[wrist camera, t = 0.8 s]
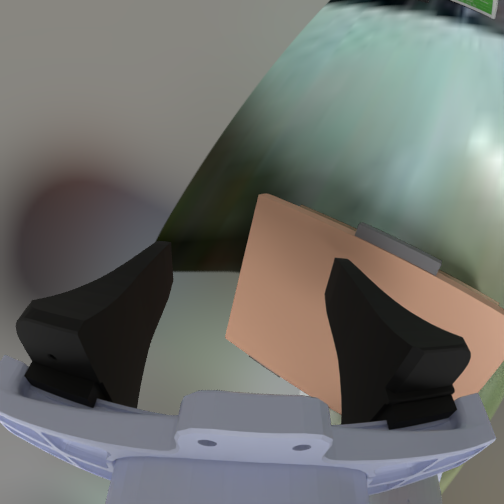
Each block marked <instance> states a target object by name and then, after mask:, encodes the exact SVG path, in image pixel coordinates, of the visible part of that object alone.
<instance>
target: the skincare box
mask: <svg viewBox="0 0 504 504" xmlns="http://www.w3.org/2000/svg"><path fill="white" fill-rule="evenodd" d="M451 1H453V2H456V3H459V4H461V5H463V6H466V7H468V8H471V9H473V10H475V11H478V12H480V13H482V14H484V15H486V16H488V17H490V18H492V19H495V16H496V11H497V6H498V0H451Z"/></svg>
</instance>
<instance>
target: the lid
mask: <svg viewBox="0 0 504 504" xmlns="http://www.w3.org/2000/svg"><path fill="white" fill-rule="evenodd" d="M335 258H345V259H349V260H350V261H351V262H352V263H353V264H354V265H356V266H357V267H358V268H359V269H360V270H361V271H362V272H363V273H364V274H365V275H366V276H367V277H368V278H369V279H370V280H371V281H372V282H374V283H375V284H376V285H377V286H378V287H379V288H380V289H381V290H382V291H384V292H385V293H386V294H387V295H388V296H390V297H391V298H392V299H393V300H395V301H396V302H397V303H399V304H400V305H401V306H403V307H404V308H406V309H407V310H409V311H410V312H412V313H413V314H415V315H417V316H418V317H420V318H422V319H423V320H425V321H427V322H429V323H431V324H433V325H435V326H437V327H439V328H441V329H443V330H445V331H448V332H450V333H453V334H456V335H458V336H461V337H463V339H464V340H465V342H466V344H467V346H468V348H469V350H470V352H471V358H470V361H469V364H468V365H467V367H466V368H465V370H464V371H463V372H462V374H461V375H460V376H459V377H458V378H457V380H456V381H455V382H454V383H453V387H454V389H455V392H454V393H453V394H451V395H452V397H453V400H456V399H457V398H459V397H462V396H466V395H470V394H474V393H478V392H479V391H480V390H481V388H482V387H483V386H484V385H485V384H486V382H487V381H488V380H489V379H490V377H491V376H492V375H493V374H494V372H495V371H496V370H497V368H498V367H499V366H500V365H501V363H502V362H503V360H504V309H503V308H501V307H499V306H498V305H496V304H494V303H493V302H491V301H489V300H487V299H486V298H484V297H482V296H481V295H479V294H477V293H475V292H473V291H472V290H470V289H468V288H466V287H465V286H463V285H461V284H459V283H457V282H455V281H454V280H452V279H450V278H448V277H446V276H444V275H442V274H441V273H439V272H438V270H439V268H440V266H441V262H442V261H441V260H439V259H438V258H436V257H434V256H432V255H430V254H428V253H426V252H424V251H422V250H420V249H418V248H416V247H414V246H412V245H410V244H408V243H406V242H404V241H402V240H400V239H398V238H395V237H393V236H391V235H389V234H387V233H385V232H383V231H381V230H379V229H376V228H374V227H372V226H370V225H368V224H365V223H363V222H362V223H360V224H359V225H358V228H357V231H354V230H351V229H349V228H347V227H345V226H343V225H340V224H338V223H336V222H334V221H332V220H329V219H327V218H325V217H322V216H320V215H318V214H316V213H313V212H311V211H309V210H306V209H304V208H302V207H299V206H297V205H295V204H292V203H290V202H287V201H285V200H283V199H280V198H278V197H275V196H273V195H270V194H268V193H267V194H259V196H258V200H257V204H256V208H255V212H254V217H253V221H252V225H251V229H250V233H249V238H248V242H247V246H246V250H245V254H244V259H243V263H242V267H241V271H240V276H239V280H238V284H237V288H236V293H235V297H234V301H233V305H232V310H231V314H230V318H229V323H228V327H227V331H226V336H225V338H226V339H227V340H229V341H230V342H231V343H233V344H234V345H236V346H237V347H238V348H240V349H241V350H242V351H244V352H245V353H247V354H248V355H249V357H251V358H252V359H254V360H255V361H256V362H258V363H259V364H261V365H262V366H263V367H265V368H266V369H268V370H269V371H271V372H272V373H274V374H275V375H277V376H278V377H282V378H283V379H285V380H286V381H288V382H289V383H291V384H292V385H294V386H295V387H297V388H298V389H300V390H302V391H303V392H305V393H306V394H308V395H309V396H311V397H316V398H318V399H320V400H321V401H323V402H324V403H326V404H327V405H328V406H329V408H331V409H332V410H334V411H336V412H337V413H339V414H341V415H342V410H341V386H340V374H339V365H338V358H337V352H336V348H335V344H334V340H333V336H332V332H331V328H330V325H329V321H328V317H327V312H326V304H325V295H324V294H325V290H326V287H327V283H328V280H329V276H330V273H331V269H332V266H333V262H334V259H335Z"/></svg>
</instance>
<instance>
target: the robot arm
mask: <svg viewBox="0 0 504 504" xmlns="http://www.w3.org/2000/svg"><path fill="white" fill-rule="evenodd" d="M172 283H173V270H172V254H171V242H164V241H157V242H155V243H154V244H152V245H151V246H149V247H148V248H146V249H145V250H144V251H142V252H141V253H139V254H138V255H136V256H135V257H134V258H132V259H131V260H129V261H128V262H126V263H125V264H123V265H121V266H120V267H118V268H117V269H115V270H114V271H112V272H110V273H109V274H107V275H105V276H103V277H101V278H99V279H97V280H95V281H93V282H91V283H88V284H86V285H83V286H81V287H79V288H76V289H74V290H71V291H68V292H65V293H62V294H58V295H55V296H51V297H46V298H42V299H37V300H32V302H31V303H30V304H29V306H28V307H27V308H26V309H25V311H24V312H23V314H22V315H21V316H20V318H19V319H18V320H17V323H16V330H17V334H18V337H19V339H20V341H21V343H22V344H23V346H24V348H25V350H26V351H27V353H28V354H29V356H30V358H31V360H32V363H31V365H30V366H29V367H28V366H27V365H26V364H25V363H23V362H22V361H19V360H16V359H14V358H12V357H10V356H8V355H4V356H3V358H2V360H1V361H0V423H1V424H2V425H3V426H4V427H5V428H6V429H8V430H9V431H10V432H11V433H13V434H14V435H16V436H18V437H20V438H22V439H23V440H25V441H27V442H29V443H30V444H32V445H34V446H36V447H38V448H40V449H42V450H44V451H45V452H47V453H49V454H51V455H53V456H55V457H57V458H59V459H61V460H63V461H65V462H67V463H69V464H72V465H74V466H76V467H78V468H81V469H83V470H85V471H87V472H90V473H93V474H95V475H97V476H100V477H102V478H105V479H108V480H110V481H111V482H110V486H109V490H108V495H107V499H106V503H105V504H442V497H441V491H440V485H439V482H440V479H441V476H442V472H445V471H448V470H450V469H453V468H455V467H458V466H460V465H462V464H463V463H465V462H466V461H468V460H469V459H471V458H472V457H473V456H475V455H476V454H478V453H479V452H481V451H482V450H483V449H484V448H486V447H487V446H489V445H490V444H491V443H492V442H494V441H495V439H496V437H495V434H494V431H493V429H492V426H491V423H490V421H489V418H488V416H487V413H486V411H485V408H484V406H483V403H482V401H481V399H480V396H479V394H478V393H474V394H470V395H466V396H462V397H459V398H457V399H456V400H453V397H452V395H451V394H453V393H454V392H455V389H454V387H453V383H454V382H455V381H456V380H457V378H458V377H459V376H460V375H461V374H462V372H463V371H464V370H465V368H466V367H467V365H468V364H469V361H470V358H471V352H470V350H469V348H468V346H467V344H466V342H465V340H464V339H463V337H461V336H458V335H456V334H453V333H450V332H448V331H445V330H443V329H441V328H439V327H437V326H435V325H433V324H431V323H429V322H427V321H425V320H423V319H422V318H420V317H418V316H417V315H415V314H413V313H412V312H410V311H409V310H407V309H406V308H404V307H403V306H401V305H400V304H399V303H397V302H396V301H395V300H393V299H392V298H391V297H390V296H388V295H387V294H386V293H385V292H384V291H382V290H381V289H380V288H379V287H378V286H377V285H376V284H375V283H374V282H372V281H371V280H370V279H369V278H368V277H367V276H366V275H365V274H364V273H363V272H362V271H361V270H360V269H359V268H358V267H357V266H356V265H354V264H353V263H352V262H351V261H350V260H349V259H345V258H335V259H334V262H333V266H332V269H331V273H330V276H329V280H328V283H327V287H326V290H325V294H324V295H325V304H326V312H327V317H328V321H329V325H330V328H331V332H332V336H333V340H334V344H335V348H336V352H337V358H338V365H339V374H340V386H341V410H342V421H341V425H331V421H330V413H329V406H328V405H327V404H326V403H324V402H323V401H321V400H320V399H318V398H316V397H309V396H303V395H274V394H255V393H241V392H230V391H220V390H199V391H196V392H194V393H191V394H189V395H186V396H184V397H183V400H182V402H181V405H180V410H179V415H166V414H160V413H155V412H150V411H145V410H141V409H137V404H138V398H139V392H140V386H141V381H142V376H143V371H144V366H145V362H146V358H147V354H148V350H149V347H150V343H151V340H152V337H153V334H154V332H155V329H156V327H157V325H158V322H159V320H160V318H161V315H162V313H163V310H164V308H165V305H166V303H167V300H168V298H169V294H170V291H171V286H172Z"/></svg>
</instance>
